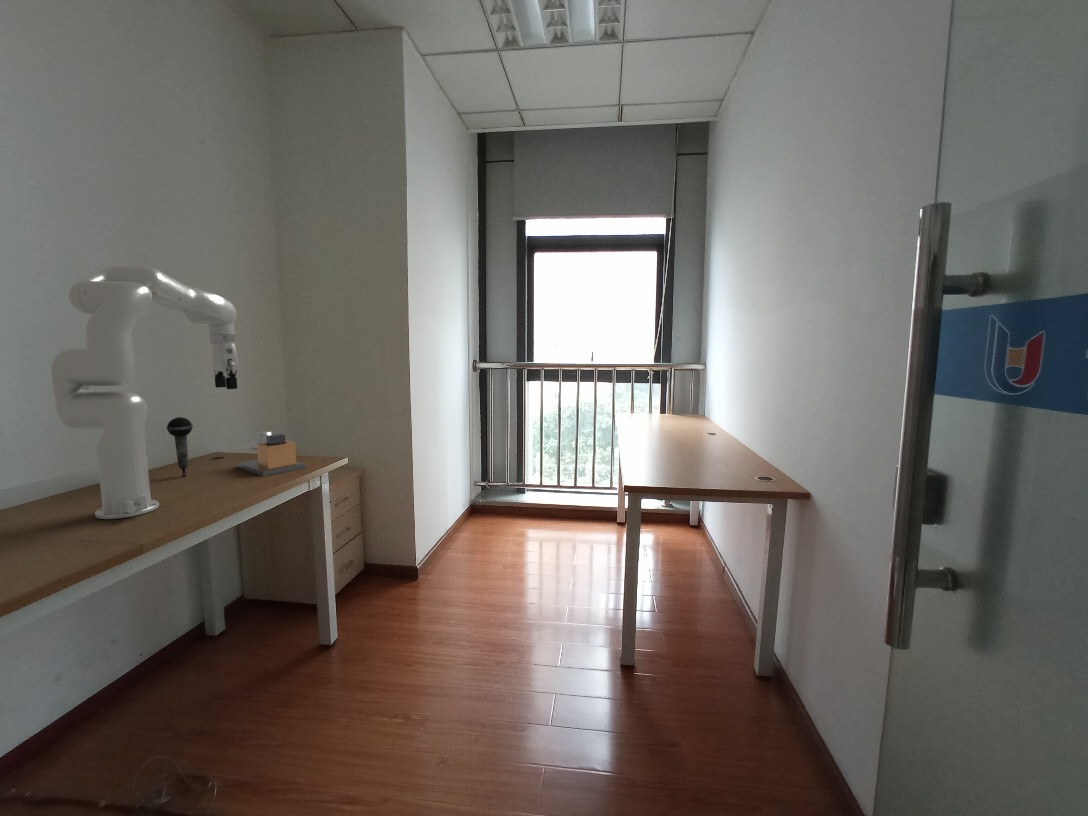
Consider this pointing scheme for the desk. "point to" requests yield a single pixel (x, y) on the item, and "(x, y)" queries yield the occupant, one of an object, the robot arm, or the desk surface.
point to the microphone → (180, 439)
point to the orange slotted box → (271, 457)
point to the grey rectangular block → (275, 439)
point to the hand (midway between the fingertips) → (226, 388)
